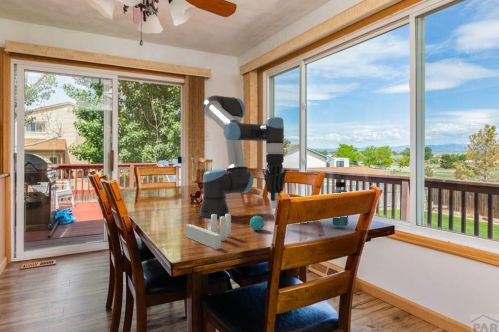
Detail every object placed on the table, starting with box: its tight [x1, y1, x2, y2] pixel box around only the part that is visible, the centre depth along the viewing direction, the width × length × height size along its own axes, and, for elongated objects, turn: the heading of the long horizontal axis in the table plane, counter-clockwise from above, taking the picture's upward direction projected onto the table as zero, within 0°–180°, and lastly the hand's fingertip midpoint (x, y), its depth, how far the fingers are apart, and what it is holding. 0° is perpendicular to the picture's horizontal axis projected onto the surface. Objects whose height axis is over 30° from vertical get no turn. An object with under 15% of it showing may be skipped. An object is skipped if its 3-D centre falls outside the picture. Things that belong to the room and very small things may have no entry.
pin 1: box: [210, 214, 218, 234], centre depth 115 cm, size 2×2×8 cm
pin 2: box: [219, 216, 227, 242], centre depth 110 cm, size 2×2×8 cm
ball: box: [249, 215, 265, 232], centre depth 125 cm, size 6×6×6 cm
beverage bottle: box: [332, 181, 349, 227], centre depth 130 cm, size 6×7×20 cm
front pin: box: [225, 213, 232, 238], centre depth 115 cm, size 2×2×8 cm
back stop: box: [185, 223, 222, 250], centre depth 108 cm, size 20×2×4 cm, turn 41°
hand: (274, 208), depth 131 cm, fingers closed
